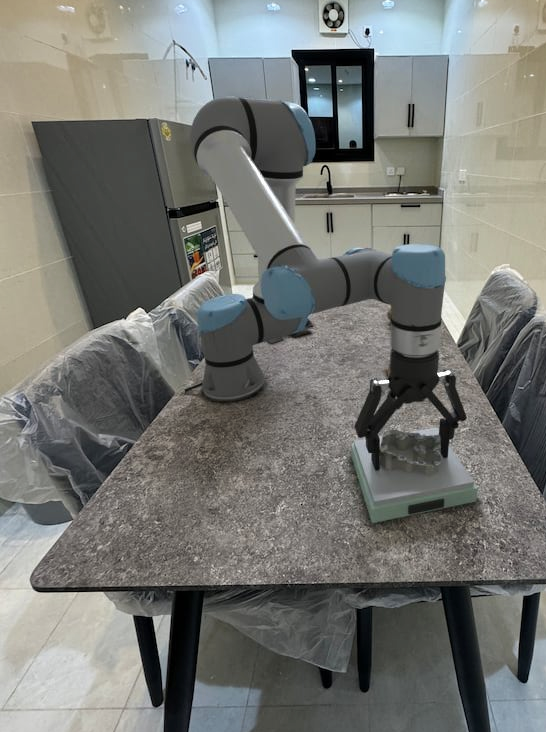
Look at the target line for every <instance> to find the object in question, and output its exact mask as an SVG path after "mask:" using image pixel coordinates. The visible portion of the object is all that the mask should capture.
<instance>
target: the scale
mask: <svg viewBox="0 0 546 732" xmlns="http://www.w3.org/2000/svg"><path fill="white" fill-rule="evenodd" d="M409 432H410V433H419V434H420V435H423V434H425V435H426V436H430V435H439V427H438V426H436V427H429V428H423V429H418V430H417V429H416V430H411V431H409ZM379 438H380V445H381V442H382V438H383V435H381V436H379ZM350 456H351V460H352V463H353V466H354V470H355V473H356V476H357V479H358V483H359V486H360V489H361V493H362V496H363V499H364V502H365V506H366V508H367V512H368V516H369V519H370V522H371V524H376V523H380V522H386V521H390V520H395V519H400V518H405V517H409V516H413V515H418V514H424V513H427V512H433V511H438V510H444V509H448V508H451V507H457V506H462V505H466V504H470V503H476V502H477V496H478V491H479V490H478V489H479V488H478V486H477V485H476V484H475V481H474V480H473V478H472V477H471V475H470V474H469V472H468V470H467V469H466V468H465V466H464V465H463V463H462V461H461V460H460V459H459V458H458V456H457V454H456V453H455V451H454V449H452V447H451V446H450V445H449V450H448V458H443V456H442V455H441V454H440V456H441V463H440V465H439V471H438V472H435V473H433V474H432V476H426V475H425V473H424V472H423V471H421V470H415V471H413V472H412V473H406V472H405V471H404V470H403V469H402V468H394V469H393V470H392V471H387V470H386V469H385V468H384V466H381V465H380V470H376V471H375V468H374V465H373V463H372V460H371V453H368V450H367V448H366V438H361V439H355V440H353V442H351V443H350Z"/></svg>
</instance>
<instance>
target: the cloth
mask: <svg viewBox="0 0 546 732" xmlns="http://www.w3.org/2000/svg"><path fill="white" fill-rule="evenodd" d="M313 326H314V325H313V322H312V321H311V319H309V318H308V320H307V323H306V325H305V327H304V328H303V329H302V330H301V331H299V332H296V333H293V334H292V335H290V337H292V338H297V337H300V336H303V335H308V334H311V333H313V332H312V331H311V330H310V329H309V328H311V327H313ZM283 340H284V337H280V338H276V339H273V340H269V341H267V342H268V343H270V344H271V345H272V344H275V343H278V342H280V341H283Z"/></svg>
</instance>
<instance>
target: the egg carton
mask: <svg viewBox="0 0 546 732" xmlns="http://www.w3.org/2000/svg"><path fill="white" fill-rule="evenodd" d="M410 432H411V431H402V430H398V429H389V430H388V431H385V432H384V433H383V434H382V436H383V438H382V442H381V445H380V465H381V466H384V468H385V469H386V470H387V471H392V470H393V469H394V468H402V469H403V470H404V471H405V472H406V473H412V472H413V471H415V470H421V471H423V472H424V473H425V475H426V476H432V474H433V473H435V472H438V471H439V465H440V463H441V456H440V454H441V438H440V435H430V436H426V435H425V434H423V435H420V434H419V433H410Z"/></svg>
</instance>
